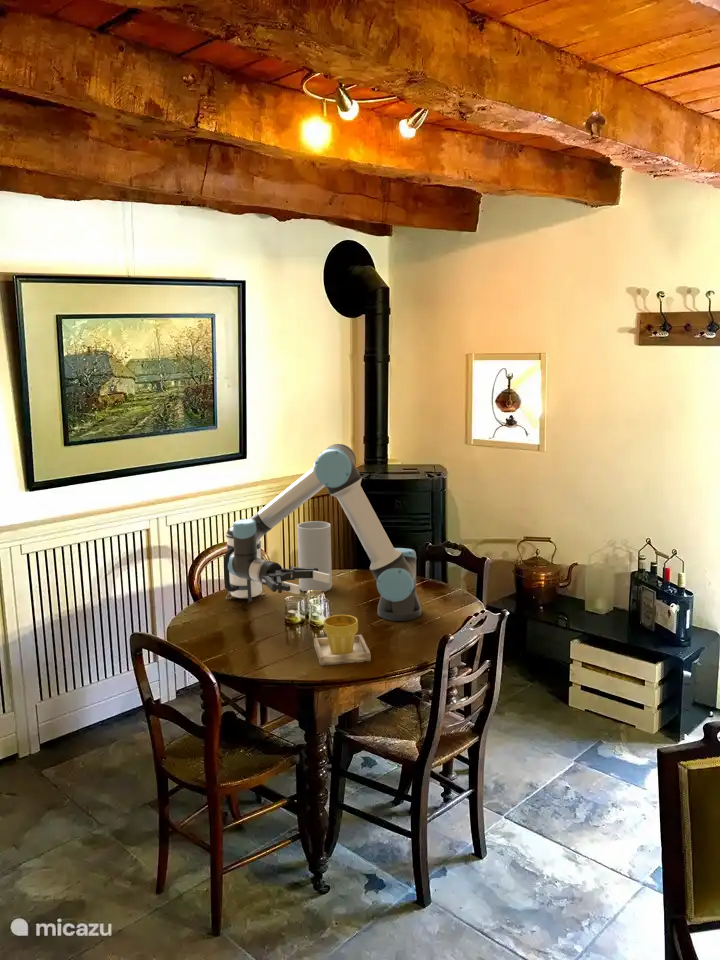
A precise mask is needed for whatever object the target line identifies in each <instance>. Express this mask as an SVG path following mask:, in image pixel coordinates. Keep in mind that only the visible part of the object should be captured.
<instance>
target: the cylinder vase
mask: <svg viewBox="0 0 720 960" xmlns="http://www.w3.org/2000/svg"><path fill="white" fill-rule="evenodd" d="M331 528H332V527H331V523H329V522H327V521H320V520H317V521H316V520H314V521H313V520H311V521H304V522H301V523H300V522H299V523H297V552H298V553H297V554H298V555H297V557H298V559H297V560H298V567H302V568H318V572H322V573H326V574H330V583H326V582H322V581H318V580H313V578H300V579H298V585H300V591H302V592H304V591H308V590H322V591H324V592H323V593H325V592H327V591H330V590H331V589H332V587H333V580H332V579H333V578H332V576H333V575H332V540H331V539H332V537H331V536H332V535H331V534H332V533H331Z"/></svg>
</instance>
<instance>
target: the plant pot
mask: <svg viewBox="0 0 720 960" xmlns="http://www.w3.org/2000/svg"><path fill="white" fill-rule="evenodd" d="M323 631H324V632H323V633H324V634H326V636H327V638H328V642H329V646H330V650H331V652H332V653H333V654H336V655H340V654H349V653H351V652H352V650H353V645H354V640H355V635H357V633H358V631H359V620H358V618H357V617H356V616H353V615H349V614H335V615H330V616H328V617H326V618H325V619H324V620H323Z"/></svg>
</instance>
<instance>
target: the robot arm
mask: <svg viewBox="0 0 720 960" xmlns="http://www.w3.org/2000/svg"><path fill="white" fill-rule="evenodd" d="M356 457H357V456H356V455H355V452H354V451H353V449H352V448H351V447H349V446H348V445H345V444H342V443H334V444H331V445H329V446H328V447H327V448H325V449H324V450H323V451H322V452H321V453H319V454H318V456H317V457H316V460H315V461H314V462H313V463H312V468H310V469H309V470H308V471H307V472H305V473H304V474H303V475H301V476H300V477H299V478H298V479H297V480H295V481H294V482H293V483H291V484H290V485H289V486H288V487H287V488H285V489H284V490H283V491H282V492H281V493H279V494H278V495H277V496H276V497H274V498H273V499H272V500H271V501H269V503H267V504H266V505H264V506H263V507H262V508H261V509H260V510H259V511H258V512H256V513H255V514H254V515H253V516H251V517H249V518H248V519H247V518H246V519H245V518H242V519H243V520H241V519H239V520H236V521H234V522H233V524H232V526H233V539H234V555H232V556H231V557H230V559H229V563H228V569H229V572H230V573H231V574H233V575H235V576H238V577H240V578H245V579H249V580H253V581H257V582H259V583H262V584H263V585H265V586H266V587H267V588H268V589H269V590H270V591H271V592H272V593H275V592H277V591H278V593H279V594H281V593H283V592H287V593H291V594H295V595H300V594H301V590H300V585H299V584H296V583H292V582H288V581H295V580H296V579H297V580H299V579H300V578H313V580H318V581H322V582H326V583H330V574H326V573H322V572H318V568H302V567H299V566H293V565H292V566H289V568H286V567H285V568H283V567H282V566H281V564H279V563H278V562H275V561H270V560H268V559H263V558H262V559H259V558H257V541H258V540H259V539H260V540H261V538H262V537H264V536H265V535H266V534H267V533H268V532H269V531H271V530H272V529H273V528H274V527H275V526H277V525H279V524H280V523H281V522H282V521H283V520H284V519H286V518H287V517H288V516H289V515H291V514H292V513H293V512H295V511H296V510H297V509H298V508H300V507H301V506H302V505H303V504H305V503H306V502H307V501H308V500H310V499H311V498H312V497H314V495H316V494H317V493H319V492H320V491H321V490H323V488H325V489H326V490H327V492H328V494H329V495H330V496H332V497H335V498H336V499H337V501H338V502H339V504H340V506H341V508H342V509H343V512H344V513H345V515H346V517H347V520H349V523H350V525H351V526H352V528H353V530H354V532H355V534H356V535H357V537H358V539H359V541H360V543H361V545H362V547H363V549H364V551H365V552H366V555H367V557H368V558H369V560H370V566H369V570H370V572H371V573H372V575H373V577H374V579H375V581H376V588H377V591H378V593H379V595H380V598H379V601H378V605H377V615H378V617H380V618H382V619H384V620H387V621H393V622H401V621H403V622H405V621H411V620H416V619H417V617H418V618H419V617H420V616H421V615H422V606H421V603H420V600H419V597H418V594H417V553H416V551H415V549H412V548H405V547H404V548H403V547H394V546H393V544H392V542H391V540H390V538H389V536H388V534H387V532H386V531H385V529H384V527H383V525H382V523H381V521H380V519H379V518H378V515H377V513H376V512H375V510H374V508H373V506H372V504H371V503H370V500H369V498H368V497H367V495H366V493H365V492H364V490H363V487H362V486H361V483H362V480H363V477H362V475H361V474H360V472H359V469H358V468H357V466H356V464H357V458H356ZM291 576H292V577H291Z"/></svg>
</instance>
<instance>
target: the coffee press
mask: <svg viewBox="0 0 720 960" xmlns="http://www.w3.org/2000/svg"><path fill="white" fill-rule="evenodd" d="M243 519H244V518H241V519H240V520H243ZM225 537H226V552H225V555H224V558H223V577H224V586H225V587H224V588H225V590H226V591H227V592H228V593H227V594H226V596H225V599H226V600H227V599H228V597H229V595H231V596H230V597H229V598H230V600H232V598H236V599H237V598H238V599H247V603H248V602H249V603H248V604H253V598H254V597H257V596H259V595H262V591H263V592H264V594H265V596H266V595H267V592H266V591H265V590H264V587H263V585H264V584H262V583H259V582H257V581H253V580H249V579H245V578H240V577H238V576H235V575H233V574H231V573H230V572H229V569H228V563H229V559H230V557H231V556H232V555H234V539H233V525H232V526H230V527H229V528H228V529H227V531H226V532H225ZM257 558H259V559H263V558H262V542H261V538H260V539H259V540H258V541H257Z"/></svg>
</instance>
